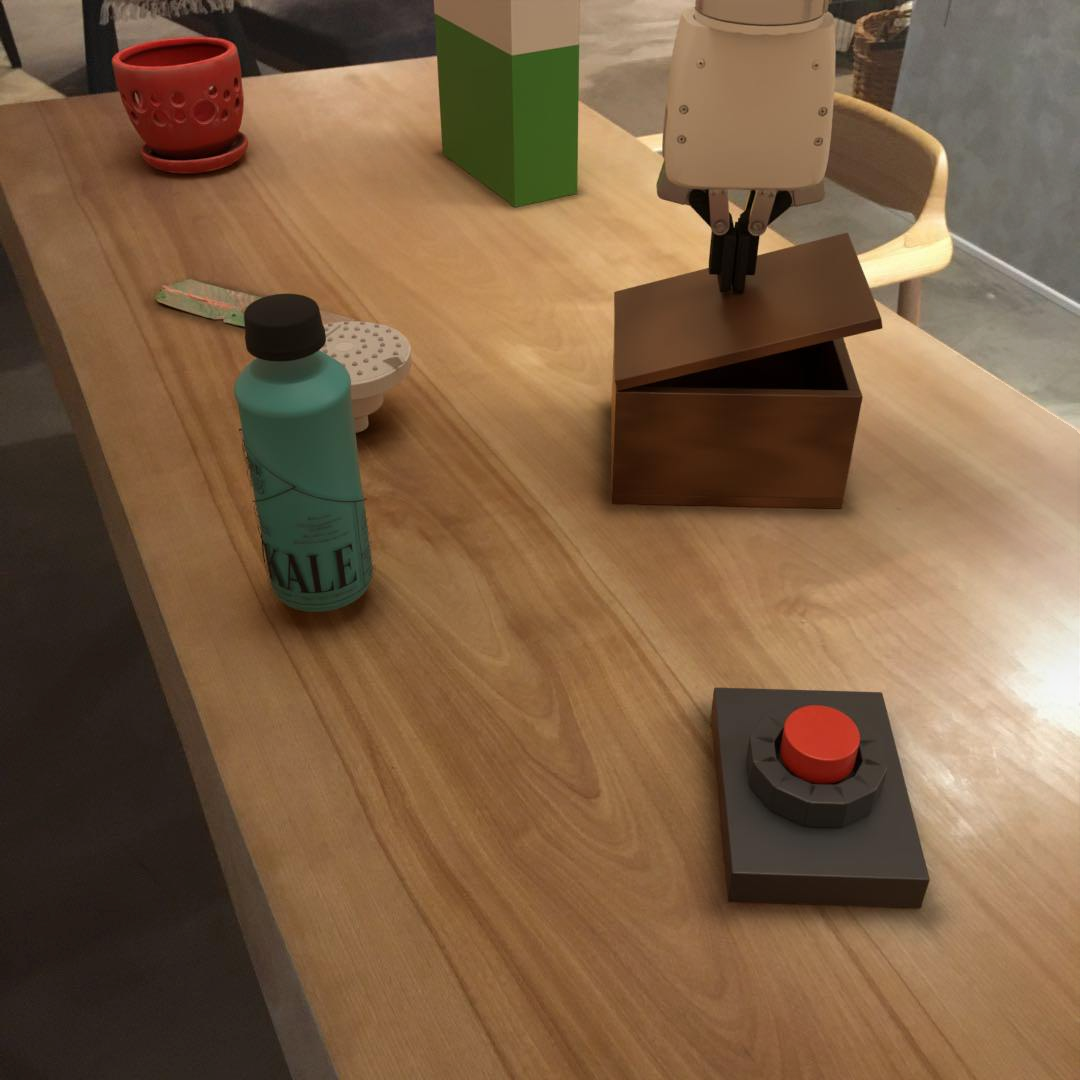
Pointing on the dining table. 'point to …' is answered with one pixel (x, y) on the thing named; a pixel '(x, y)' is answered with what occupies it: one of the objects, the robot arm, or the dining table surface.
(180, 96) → the plant pot
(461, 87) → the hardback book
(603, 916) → the dining table surface
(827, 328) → the chest lid
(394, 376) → the showerhead
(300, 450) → the beverage bottle
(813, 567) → the dining table surface
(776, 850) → the control block
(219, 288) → the map
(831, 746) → the button
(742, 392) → the chest
